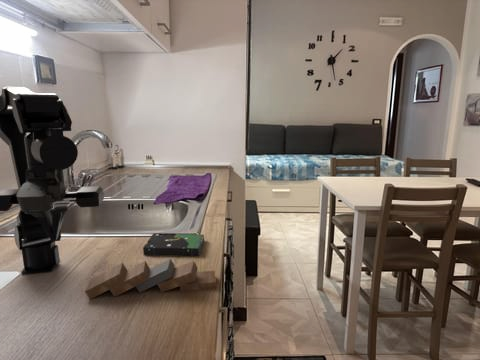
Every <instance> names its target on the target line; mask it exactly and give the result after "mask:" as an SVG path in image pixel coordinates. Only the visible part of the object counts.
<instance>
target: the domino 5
mask: <svg viewBox="0 0 480 360" xmlns="http://www.w3.org/2000/svg"><path fill="white" fill-rule="evenodd" d="M179 287H180V288H179V289H180V290H179V291H180V292H181V291H196V290H197V291H198V290H213V289H214V290H215V289H217V288H216V287H217V281H216V272H215V270H207V271H206V270H203V271H202V270H201V271H197V273H196V277H195V281H193V282H190V283H187V284H184V285H181V286H179Z"/></svg>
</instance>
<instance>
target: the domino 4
mask: <svg viewBox="0 0 480 360" xmlns="http://www.w3.org/2000/svg"><path fill="white" fill-rule="evenodd" d="M197 272H198V266H197V264H196V262H195V260H192V261H189V262H187V263H184V264H181V265H178V266H175V267H174V271H173V275H172V277H171V278H169V279H167V280H165V281H163V282H161V283H159V284H157V286H158V288H159V291H160V292H161V293H164V292H166V291H171V290H172V289H176V288H178V287H180V286H181V285H184V284H187V283H190V282H193V281H195V277H196V273H197Z"/></svg>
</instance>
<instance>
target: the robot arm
mask: <svg viewBox="0 0 480 360" xmlns="http://www.w3.org/2000/svg"><path fill="white" fill-rule="evenodd" d="M72 124H73V121H72V118H71V117H70V114H69V112H68V110H67V107H66V105H64V102H63V100H62V99H60V97H59V96H58V95H57V94H56V93H50V92H49V93H45V92H42V93H41V92H33V91H31V90H30V88H27V87H24V86H5V87H1V95H0V139H1V140H2V141H3V142H4V143H5V144H6V145H7V146H8V148H9V152H10V156H11V160H12V165H13V171H14V174H15V175H14V176H15V180H16V185H17V188H13V189H1V190H0V212H7V211H9V210H10V209H11V208H12V207H13V205H19V207H20V209H19V211H18V214H17V216H16V223H15V224H14V232H13V237H14V243H15V245H16V247H17V248H18V250H19V251H21V256H22V261H23V262H22V263H23V269H22V270H21V271H20V273H21V274H22V275H23V274H36V273H48V272H52V271H54V269H55V267H56V266H57V265H58V263H59V262H60V260H61V259H60V252H59V246H58V244H56V242H60V241H61V238H62V226H63V221H64V219H65V216H66V213H67V212H69V210H70V209H71V208H73V206H74V205H75V204H76V205H77V206H79V207H80V208H97V207H99V206H100V205H101V204H102V202H103V201H104V200H105V194H104V188H102V187H101V186H100V185H97V186H95V185H93V186H81V187H80V188H79V189H78V190H77V191H67V190H68V185H67V184H66V180H65V172H64V171H65V170H67V169H68V168H70V167H72V166H74V164H75V162H76V161H77V158H78V154H79V150H78V147H77V146H76V144H75V142H74V141H73V140H72V139H71V138H69V137H67V136H65V135H64V132H72ZM53 205H54V206H53Z"/></svg>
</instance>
